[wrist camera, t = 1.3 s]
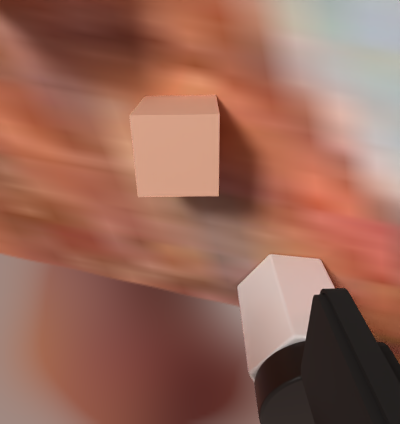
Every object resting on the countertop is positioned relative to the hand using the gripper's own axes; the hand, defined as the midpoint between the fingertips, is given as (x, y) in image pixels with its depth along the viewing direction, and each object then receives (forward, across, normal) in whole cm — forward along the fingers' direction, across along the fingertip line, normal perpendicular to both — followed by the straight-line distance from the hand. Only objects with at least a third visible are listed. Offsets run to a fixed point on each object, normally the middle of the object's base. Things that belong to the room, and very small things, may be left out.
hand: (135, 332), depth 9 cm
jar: (+19, -9, +15) cm, 26 cm away
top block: (+19, 0, 0) cm, 19 cm away
